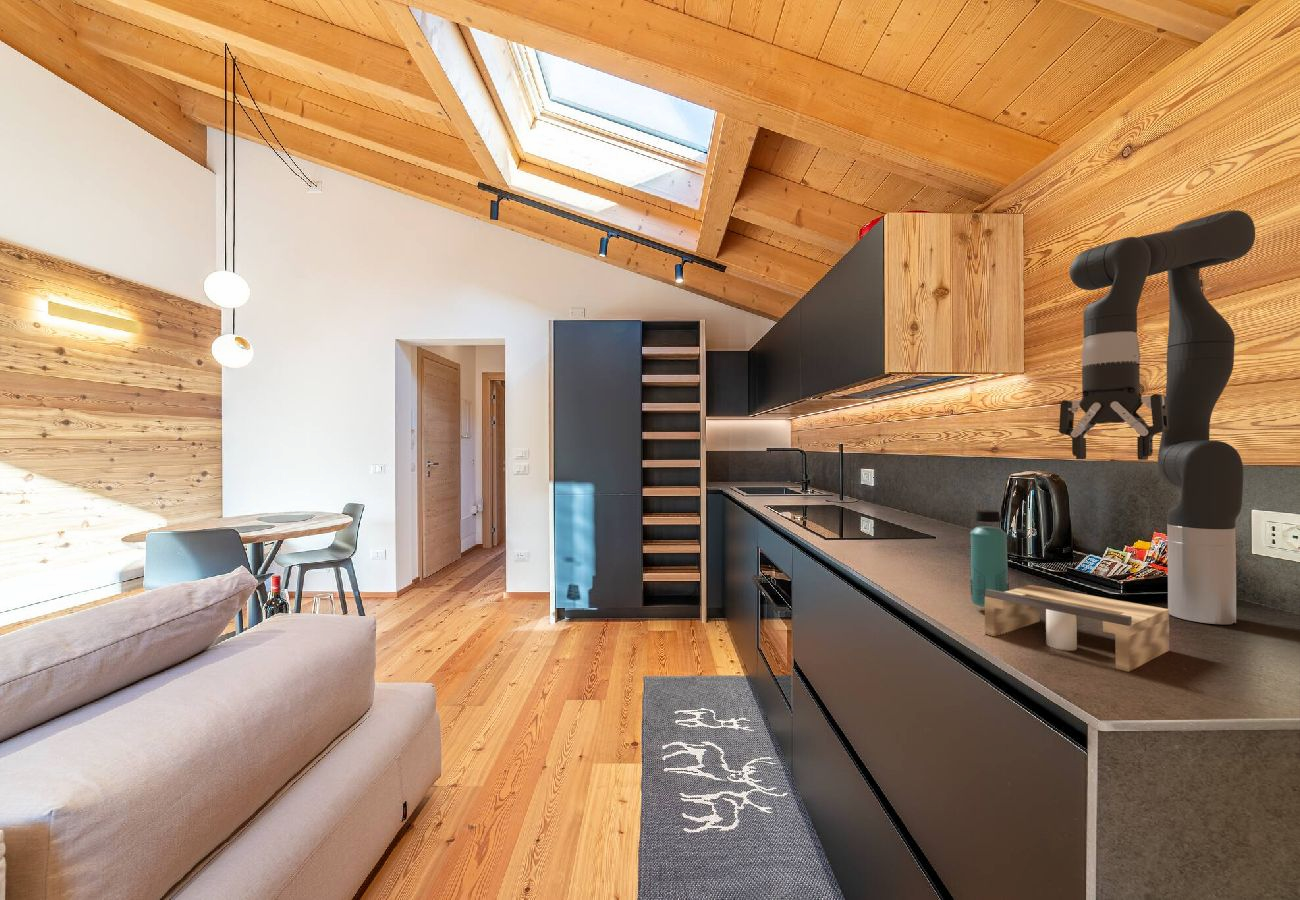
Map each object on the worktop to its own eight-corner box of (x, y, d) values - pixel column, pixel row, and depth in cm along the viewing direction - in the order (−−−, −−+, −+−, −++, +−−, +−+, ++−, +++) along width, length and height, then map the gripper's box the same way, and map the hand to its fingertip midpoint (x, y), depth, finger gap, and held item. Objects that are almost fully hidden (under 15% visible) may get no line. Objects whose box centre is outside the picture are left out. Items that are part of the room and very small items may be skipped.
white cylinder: (1041, 645, 93) (1041, 608, 93) (1053, 640, 96) (1052, 604, 96) (1069, 652, 90) (1069, 614, 90) (1081, 647, 92) (1080, 610, 92)
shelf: (1030, 619, 107) (1030, 578, 107) (1169, 650, 90) (1168, 601, 90) (984, 634, 99) (984, 589, 99) (1128, 671, 82) (1127, 618, 82)
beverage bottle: (1015, 617, 109) (1014, 512, 109) (976, 615, 110) (975, 511, 110) (1001, 607, 115) (1000, 508, 115) (965, 606, 117) (964, 508, 117)
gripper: (1051, 366, 100) (1052, 459, 100) (1156, 354, 88) (1157, 460, 88) (1071, 369, 104) (1072, 459, 104) (1173, 358, 92) (1174, 459, 92)
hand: (1110, 459), depth 96 cm, fingers open, 8 cm apart
